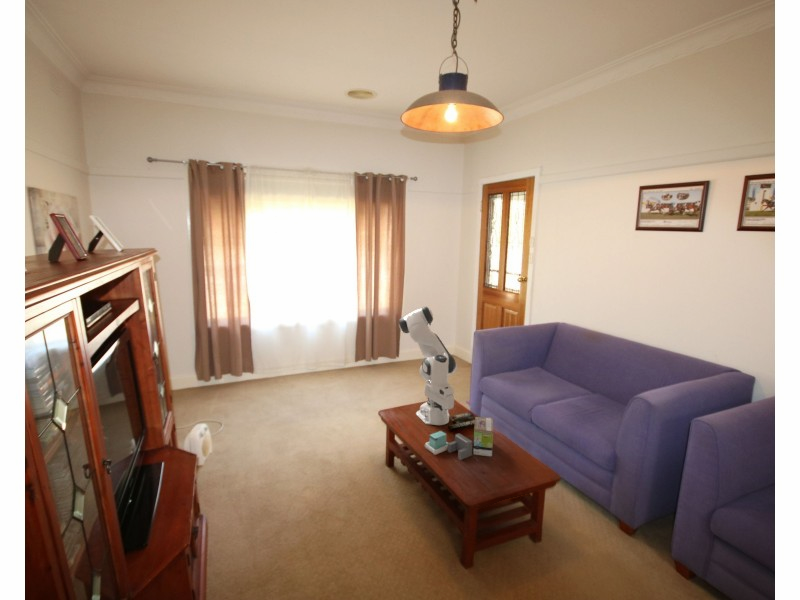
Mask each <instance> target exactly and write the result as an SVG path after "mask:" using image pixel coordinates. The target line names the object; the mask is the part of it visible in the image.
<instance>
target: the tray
mask: <svg viewBox="0 0 800 600" xmlns="http://www.w3.org/2000/svg"><path fill="white" fill-rule="evenodd" d="M429 442H430V441H428V442H427V441H426V442H425V443H424V448H425V449H426V450H428V451H429V452H430V453H432V454H433V455H439V454H440V453H443V452H445V451H448V443H449V442H448V441H446V446H444V447H441V448H439V449H436V450H435V449H433V448H432V447H430V446H429Z"/></svg>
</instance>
